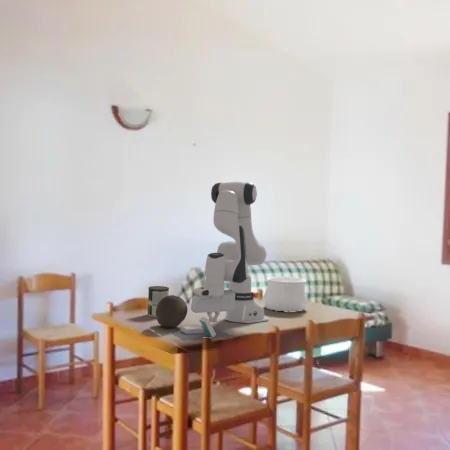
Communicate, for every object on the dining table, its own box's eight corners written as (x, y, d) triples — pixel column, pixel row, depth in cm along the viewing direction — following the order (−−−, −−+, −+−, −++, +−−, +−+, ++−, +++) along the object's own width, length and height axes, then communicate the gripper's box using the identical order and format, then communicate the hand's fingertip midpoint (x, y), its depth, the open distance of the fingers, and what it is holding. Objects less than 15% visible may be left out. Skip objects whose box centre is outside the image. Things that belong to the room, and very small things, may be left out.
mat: (216, 329, 293) (216, 328, 293) (233, 337, 278) (233, 336, 278) (168, 332, 282) (168, 331, 282) (183, 341, 267) (183, 340, 267)
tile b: (210, 331, 280) (202, 316, 278) (216, 334, 275) (208, 319, 273) (206, 334, 279) (198, 319, 277) (212, 337, 274) (204, 322, 272)
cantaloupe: (165, 332, 282) (166, 299, 281) (149, 326, 294) (151, 294, 293) (192, 329, 290) (193, 297, 290) (175, 323, 302) (177, 292, 301)
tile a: (197, 325, 287) (181, 326, 283) (203, 328, 282) (187, 329, 278) (197, 330, 287) (181, 331, 284) (203, 332, 282) (186, 334, 278)
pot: (305, 315, 338) (307, 283, 337) (260, 311, 343) (261, 280, 342) (308, 306, 363) (309, 277, 363) (265, 303, 368) (267, 274, 367)
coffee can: (143, 315, 318) (144, 287, 317) (155, 312, 327) (156, 285, 326) (159, 318, 313) (160, 289, 312) (172, 315, 322) (173, 287, 321)
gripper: (231, 288, 284) (230, 319, 284) (190, 289, 274) (188, 321, 275) (238, 290, 278) (237, 322, 279) (196, 292, 269) (195, 324, 269)
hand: (212, 321), depth 277 cm, fingers closed
